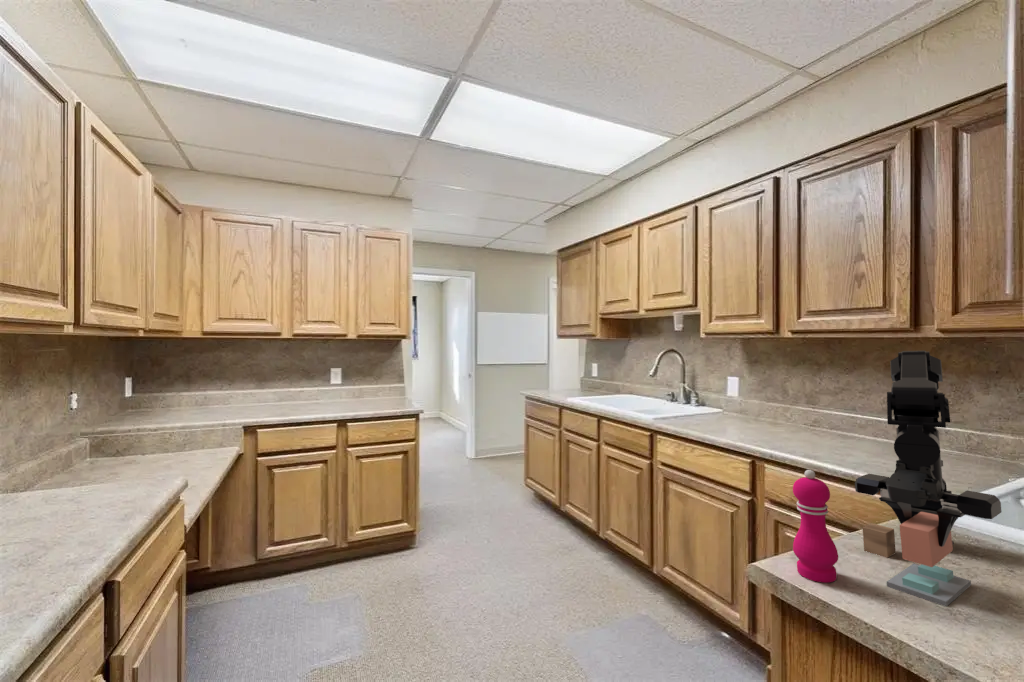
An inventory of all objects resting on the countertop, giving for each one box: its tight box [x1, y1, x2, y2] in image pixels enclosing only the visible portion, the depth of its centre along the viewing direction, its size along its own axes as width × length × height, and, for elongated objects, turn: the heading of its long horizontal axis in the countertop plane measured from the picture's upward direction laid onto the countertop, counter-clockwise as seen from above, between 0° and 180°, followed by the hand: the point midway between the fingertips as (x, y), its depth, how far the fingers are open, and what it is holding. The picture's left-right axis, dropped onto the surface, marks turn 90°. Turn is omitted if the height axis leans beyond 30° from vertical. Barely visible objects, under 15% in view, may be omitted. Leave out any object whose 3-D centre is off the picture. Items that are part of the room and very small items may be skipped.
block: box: [862, 522, 896, 559], centre depth 93 cm, size 4×4×5 cm
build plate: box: [886, 562, 972, 607], centre depth 80 cm, size 12×8×2 cm, turn 120°
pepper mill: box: [792, 469, 839, 584], centre depth 85 cm, size 7×7×20 cm
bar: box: [899, 512, 954, 567], centre depth 80 cm, size 10×4×6 cm, turn 120°
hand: (925, 541), depth 80 cm, fingers closed on bar, 4 cm apart
